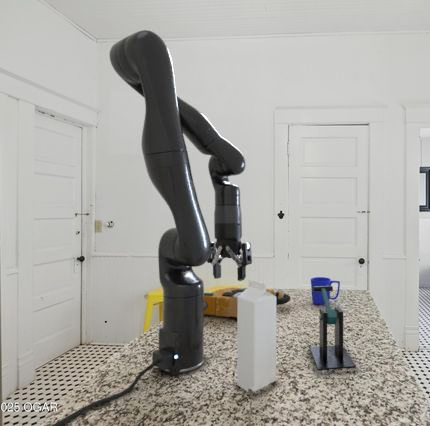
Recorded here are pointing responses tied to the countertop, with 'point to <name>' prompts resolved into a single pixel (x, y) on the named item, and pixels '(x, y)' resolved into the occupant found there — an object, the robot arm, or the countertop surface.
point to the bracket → (333, 354)
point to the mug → (317, 296)
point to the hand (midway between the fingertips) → (229, 279)
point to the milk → (256, 337)
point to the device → (232, 301)
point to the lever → (327, 303)
